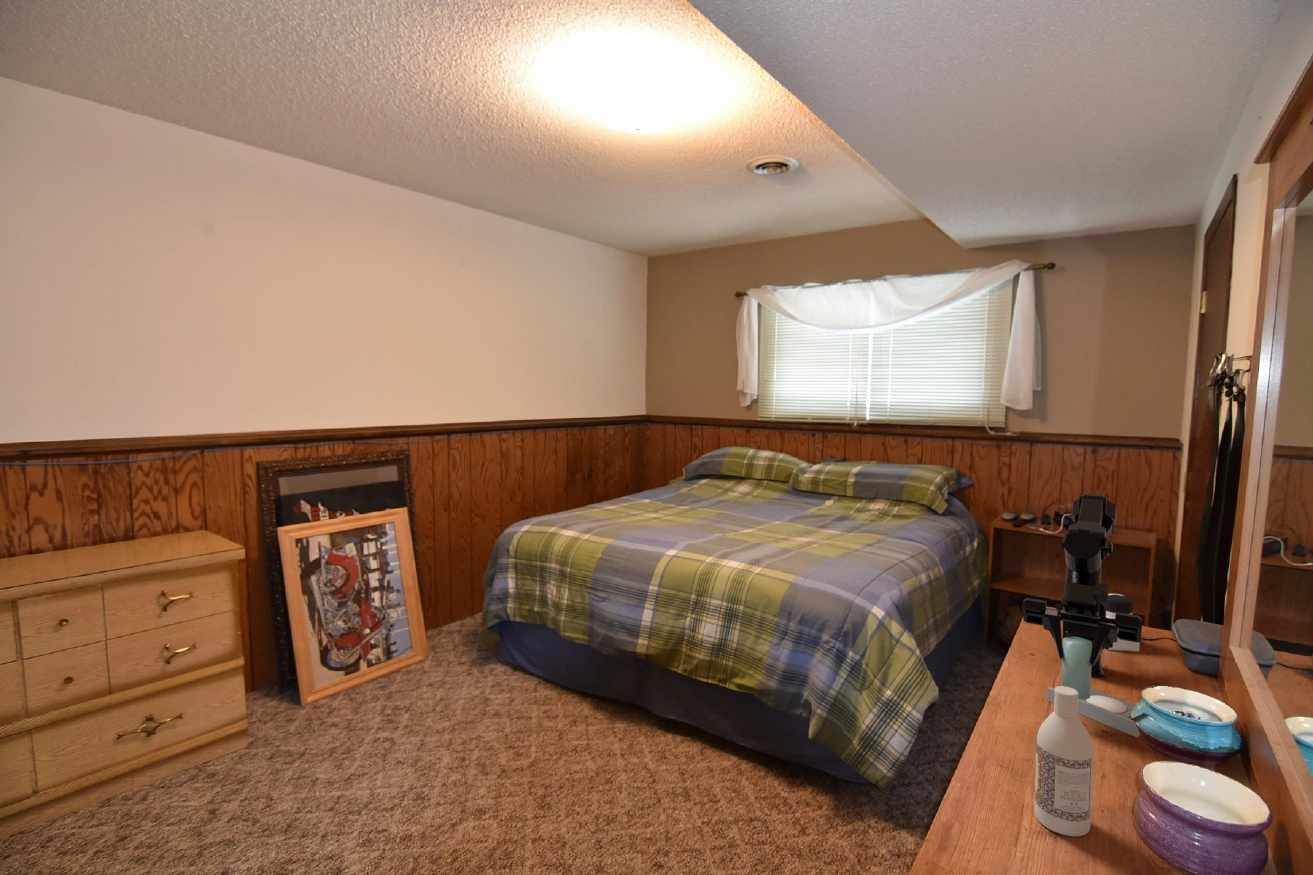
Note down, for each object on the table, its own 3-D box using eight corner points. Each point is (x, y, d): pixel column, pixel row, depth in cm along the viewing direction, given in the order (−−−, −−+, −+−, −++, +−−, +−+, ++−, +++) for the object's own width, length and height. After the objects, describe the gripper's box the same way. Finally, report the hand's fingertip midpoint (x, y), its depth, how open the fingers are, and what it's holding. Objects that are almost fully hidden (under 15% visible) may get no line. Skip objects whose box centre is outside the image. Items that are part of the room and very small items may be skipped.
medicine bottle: (1140, 652, 151) (1142, 601, 150) (1105, 650, 153) (1107, 600, 151) (1124, 640, 158) (1126, 591, 157) (1091, 638, 160) (1093, 590, 158)
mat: (1068, 705, 128) (1068, 699, 128) (1093, 693, 132) (1094, 688, 132) (1119, 726, 120) (1119, 720, 120) (1144, 713, 124) (1144, 707, 124)
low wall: (1046, 699, 130) (1047, 687, 130) (1049, 698, 131) (1049, 686, 130) (1137, 737, 116) (1137, 724, 116) (1139, 736, 117) (1139, 722, 116)
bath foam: (1039, 800, 100) (1043, 674, 98) (1093, 819, 95) (1098, 688, 94) (1029, 824, 95) (1033, 692, 93) (1086, 845, 90) (1092, 707, 88)
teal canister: (1060, 685, 123) (1062, 634, 122) (1088, 690, 121) (1090, 638, 120) (1062, 696, 119) (1064, 643, 118) (1091, 701, 117) (1093, 647, 116)
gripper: (1024, 557, 127) (1014, 630, 119) (1144, 572, 116) (1141, 654, 108) (1028, 585, 134) (1019, 656, 126) (1141, 602, 123) (1139, 681, 115)
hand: (1076, 661), depth 118 cm, fingers closed on teal canister, 4 cm apart
